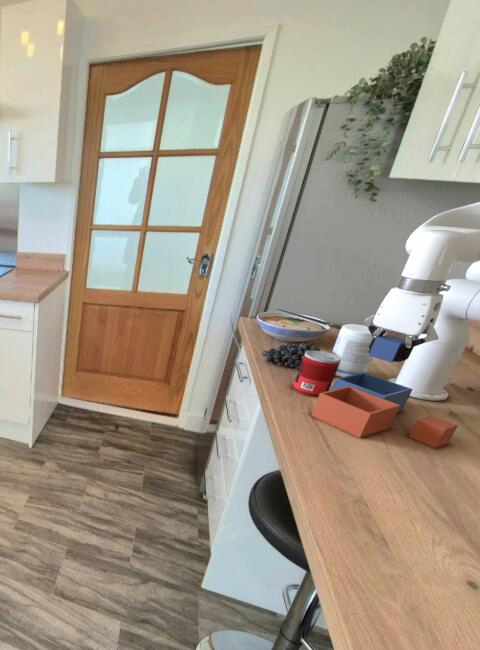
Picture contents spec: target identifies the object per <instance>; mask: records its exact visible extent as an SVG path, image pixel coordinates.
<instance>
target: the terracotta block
mask: <svg viewBox="0 0 480 650" xmlns="http://www.w3.org/2000/svg"><path fill="white" fill-rule="evenodd" d="M458 427H459V425H458V424H457V423H454V422H451V421H448V420H446V419H443V418H440V417H437V416H435V415H432V414H429V415H425V416H423V417H419V418H417V419H416V422H415V423H414V425H413V427H412V429H411V431H410V433H409V435H408V438H411V439H413V440H414V441H417V442H420V443H422V444H424V445H426V446H429V447H431V448H434V449H436V448H439V447H442V446H445V445H448V444H449V442H450V441H451V438H453V435H454V434H455V432H456V430H457V428H458Z"/></svg>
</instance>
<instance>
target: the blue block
mask: <svg viewBox="0 0 480 650" xmlns="http://www.w3.org/2000/svg"><path fill="white" fill-rule="evenodd" d="M405 339H406V338H403V337H399V336H395V335H391V334H384V336H380V337H376V339H375V342H374V344H373V346H372V349H371V351H370V353H369V356H372V357H373V358H376V359H379V360H383V361H385V362H388V363H395V362H396V361H395V359H396V357H397V355H398V353H399V350H400V348H401V347H402V346H404V345H405ZM396 363H397V362H396Z"/></svg>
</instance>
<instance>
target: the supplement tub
mask: <svg viewBox="0 0 480 650" xmlns="http://www.w3.org/2000/svg"><path fill="white" fill-rule="evenodd" d="M341 326H342V328H340V329H339V332H338V335H337V338H336V341H335V343H334V346H333V349H332V352H331V354H334V355H337V356H338V357H340V358H341V361H340V364H339V366H338V369H337V371H336V374H335V376H336V377H339V378H341V377H346V376H350V375H354V374H358V373H362V372H364V373H367V374H368V371H369V369H370V366H371V364H372V362H373V359H374V357H372V356H369V353H368V352H369V350H370V349H369V346H370V344H371V341H372V339H373V338H372V337H371V335H372V334H371V333H370V331H369V329H368V327H367V326H366V325H365V324H356V323H348V324H343V325H341Z"/></svg>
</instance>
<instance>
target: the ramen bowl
mask: <svg viewBox="0 0 480 650" xmlns="http://www.w3.org/2000/svg"><path fill="white" fill-rule="evenodd" d="M276 310H277V311H264V312H259V313H257V314H256V320H257V322H258V323H257V324H258V325H259V327H260V328H261V330H262V331H264V333H265V334H267V335H268V336H271V337H272V338H274V339H276V340H278V341H280V342H284V343H292V344H293V343H298V342H308V341H312V340H316V339H318V338H319V337H321V336H323V335H325V334H326V333H327V332H328V331H329V330H331V328H333V329H337V330H341V328H342V326H343V325H338V324H335V323H331V322H328V321H326V320H323V319H321V318H318V317H315V316H311V315H307V314H301V313H295V312H291V311H287V310H284V309H280V308H276Z"/></svg>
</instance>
